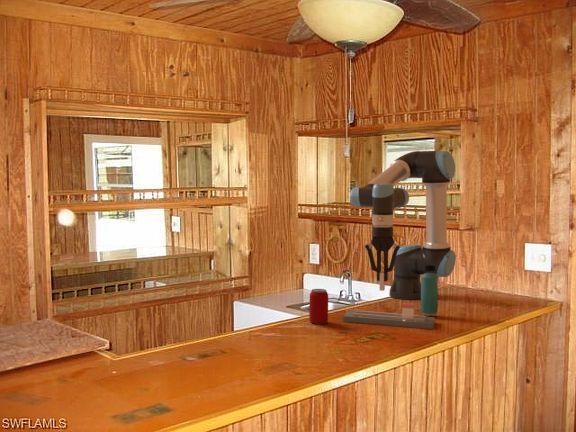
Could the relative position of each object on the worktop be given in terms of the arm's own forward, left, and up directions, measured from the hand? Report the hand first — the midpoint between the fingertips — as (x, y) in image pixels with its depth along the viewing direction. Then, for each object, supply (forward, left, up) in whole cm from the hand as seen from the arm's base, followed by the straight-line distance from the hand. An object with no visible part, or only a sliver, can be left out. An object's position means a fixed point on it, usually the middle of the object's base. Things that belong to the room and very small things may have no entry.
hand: (382, 289), depth 225 cm
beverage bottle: (-14, +16, -12) cm, 24 cm away
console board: (+1, +3, -12) cm, 12 cm away
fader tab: (+1, +10, -10) cm, 14 cm away
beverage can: (+11, -21, -12) cm, 27 cm away
